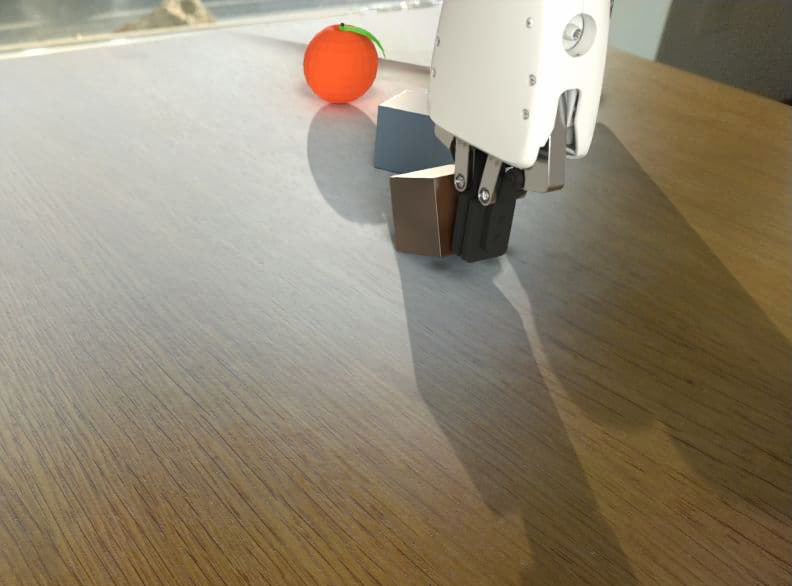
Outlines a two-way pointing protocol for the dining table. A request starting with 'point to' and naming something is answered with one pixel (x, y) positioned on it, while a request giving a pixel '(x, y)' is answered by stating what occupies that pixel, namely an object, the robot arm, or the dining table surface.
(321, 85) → the clementine
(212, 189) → the dining table surface
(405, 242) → the copper block
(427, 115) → the slate block
